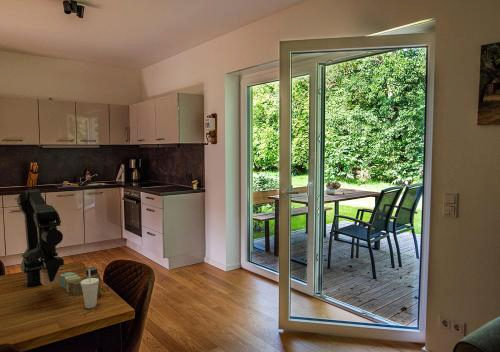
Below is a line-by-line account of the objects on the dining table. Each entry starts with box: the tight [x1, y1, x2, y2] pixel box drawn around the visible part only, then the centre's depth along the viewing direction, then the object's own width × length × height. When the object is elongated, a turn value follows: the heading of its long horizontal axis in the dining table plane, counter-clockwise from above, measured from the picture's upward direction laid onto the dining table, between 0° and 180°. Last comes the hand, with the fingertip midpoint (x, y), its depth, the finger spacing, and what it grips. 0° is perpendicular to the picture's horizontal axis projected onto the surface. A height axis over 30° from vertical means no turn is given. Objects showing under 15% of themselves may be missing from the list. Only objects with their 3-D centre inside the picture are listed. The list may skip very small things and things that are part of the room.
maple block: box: [64, 274, 81, 293], centre depth 155 cm, size 5×5×5 cm
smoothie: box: [80, 270, 99, 309], centre depth 137 cm, size 6×6×14 cm
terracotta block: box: [40, 269, 59, 287], centre depth 144 cm, size 5×5×5 cm
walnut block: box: [68, 278, 84, 297], centre depth 151 cm, size 5×5×5 cm
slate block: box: [58, 271, 78, 289], centre depth 159 cm, size 5×5×5 cm
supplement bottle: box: [83, 266, 102, 298], centre depth 147 cm, size 6×6×11 cm
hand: (49, 279), depth 144 cm, fingers closed on terracotta block, 5 cm apart
